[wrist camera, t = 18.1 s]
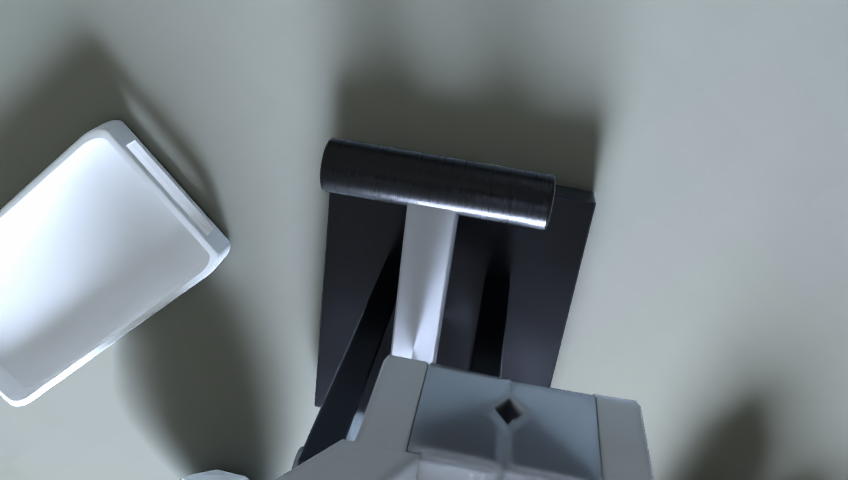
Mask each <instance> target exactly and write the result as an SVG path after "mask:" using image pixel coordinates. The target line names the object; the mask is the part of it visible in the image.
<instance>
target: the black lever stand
mask: <svg viewBox="0 0 848 480" xmlns="http://www.w3.org/2000/svg"><path fill="white" fill-rule="evenodd" d="M595 205H596V203H595V197H594V192H592V191H586V190H580V189H575V188H569V187H563V186H557V185H555V193H554V199H553V205H552V210H551V214H550V218H549V222H548V225H547V227H546V229H544V230H541V229H536V228H530V227H524V226H519V225H513V224H507V223H502V222H496V221H490V220H485V219H479V218H473V217H468V216H462V215H459V217H458V224H457V230H456V236H455V243H454V249H453V256H452V262H451V269H450V275H449V282H448V288H447V294H446V301H445V307H444V314H443V320H442V327H441V333H440V339H439V346H438V352H437V359H436V364H439V365H444V366H449V367H454V368H458V369H463V370H468V371H472V372H477V373H482V374H487V375H491V376H496V377H501V378H506V379H510V380H511V381H516V382H522V383H527V384H533V385H539V386H544V387H550V385H551V381H552V377H553V373H554V369H555V365H556V361H557V357H558V353H559V349H560V345H561V341H562V337H563V333H564V329H565V325H566V321H567V317H568V313H569V309H570V305H571V301H572V297H573V293H574V289H575V285H576V281H577V277H578V273H579V269H580V265H581V261H582V257H583V253H584V249H585V245H586V241H587V237H588V233H589V229H590V225H591V221H592V217H593V213H594V209H595ZM406 212H407V206H405V205H400V204H394V203H389V202H383V201H377V200H372V199H366V198H360V197H355V196H349V195H343V194H338V193H332V192H330V194H329V208H328V222H327V236H326V251H325V265H324V279H323V293H322V307H321V321H320V336H319V350H318V364H317V378H316V392H315V406H317V407H321V409H320V411H319V413H318V415H317V418H316V420H315V422H314V424H313V427H312V429H311V431H310V434H309V436H308V438H307V440H306V443H305V445H304V446H303V447H301V448H300V449H299V450H298V452H297V454H296V457H295V460H294V463H293V466H292V469H293V468H295V467H297V466H298V465H300V464H302V463H303V462H305V461H307V460H308V459H310V458H312V457H313V456H315V455H317V454H318V453H320V452H322V451H323V450H325V449H327V448H328V447H330V446H332V445H333V444H335V443H337V442H338V441H340V440H342V439H344V440H349V441H355V439H356V437H357V434H358V431H359V428H360V425H361V423H362V420H363V417H364V414H365V411H366V409H367V406H368V403H369V400H370V397H371V395H372V392H373V389H374V386H375V383H376V381H377V378H378V375H379V372H380V369H381V367H382V364H383V361H384V360H385V358H386V357H387V356H388V355H390V354H391V345H392V336H393V327H394V319H395V310H396V301H397V292H398V283H399V274H400V265H401V257H402V248H403V239H404V230H405V221H406Z"/></svg>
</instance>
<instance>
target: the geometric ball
mask: <svg viewBox="0 0 848 480" xmlns="http://www.w3.org/2000/svg"><path fill="white" fill-rule="evenodd" d="M180 480H249V479H248V478H247V477H245V476H242V475H237V474H233V473H229V472H225V471H221V470H212V471H207V472H202V473H197V474H192V475H189V476H187V477H185V478H183V479H180Z"/></svg>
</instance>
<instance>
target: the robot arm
mask: <svg viewBox="0 0 848 480" xmlns="http://www.w3.org/2000/svg"><path fill="white" fill-rule="evenodd" d="M275 480H654V477H653V472H652V466H651V461H650V455H649V450H648V445H647V439H646V434H645V429H644V423H643V418H642V412H641V407H640V405H639V404H638V403H637V402H636V401H633V400H627V399H621V398H614V397H608V396H602V395H596V394H593V395H589V394H583V393H578V392H572V391H566V390H561V389H555V388H550V387H544V386H539V385H533V384H527V383H522V382H516V381H511V380H510V379H506V378H501V377H496V376H491V375H487V374H482V373H477V372H472V371H468V370H463V369H458V368H454V367H449V366H444V365H439V364H435V363H430V364H428V363H427V362H425V361H420V360H415V359H409V358H404V357H399V356H394V355H388V356H387V357H386V358H385V360H384V361H383V364H382V367H381V369H380V372H379V375H378V378H377V381H376V383H375V386H374V389H373V392H372V395H371V397H370V400H369V403H368V406H367V409H366V411H365V414H364V417H363V420H362V423H361V425H360V428H359V431H358V434H357V437H356V439H355V441H349V440H344V439H342V440H340V441H338V442H337V443H335V444H333V445H332V446H330V447H328V448H327V449H325V450H323V451H322V452H320V453H318V454H317V455H315V456H313V457H312V458H310V459H308V460H307V461H305V462H303V463H302V464H300V465H298V466H297V467H295V468H293V469H292V470H290V471H288V472H287V473H285V474H283V475H282V476H280V477H278V478H277V479H275Z"/></svg>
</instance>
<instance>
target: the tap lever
mask: <svg viewBox="0 0 848 480" xmlns="http://www.w3.org/2000/svg"><path fill="white" fill-rule="evenodd" d="M320 183H321V188H322V190H324V191H326V192H332V193H338V194H343V195H349V196H355V197H360V198H366V199H372V200H377V201H383V202H389V203H394V204H400V205H405V206H407V212H406V221H405V230H404V239H403V248H402V257H401V265H400V274H399V283H398V292H397V301H396V310H395V319H394V327H393V336H392V345H391V354H390V355H394V356H399V357H404V358H409V359H415V360H420V361H425V362H427V363H428V364H430V363H435V364H436V359H437V352H438V346H439V339H440V333H441V327H442V320H443V314H444V307H445V301H446V294H447V288H448V282H449V275H450V269H451V262H452V256H453V249H454V243H455V236H456V230H457V224H458V217H459V215H462V216H468V217H473V218H479V219H485V220H490V221H496V222H502V223H507V224H513V225H519V226H524V227H530V228H536V229H541V230H544V229H546V227H547V225H548V222H549V218H550V214H551V210H552V205H553V199H554V193H555V185H556V178H555V176H554V175H549V174H543V173H537V172H532V171H526V170H520V169H514V168H508V167H502V166H496V165H491V164H485V163H479V162H473V161H467V160H461V159H455V158H449V157H444V156H438V155H432V154H426V153H420V152H414V151H408V150H402V149H397V148H391V147H385V146H379V145H373V144H367V143H361V142H356V141H350V140H344V139H338V138H331V139H330V140H329V141H328V143H327V145H326V147H325V150H324V153H323V157H322V162H321V169H320Z"/></svg>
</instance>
